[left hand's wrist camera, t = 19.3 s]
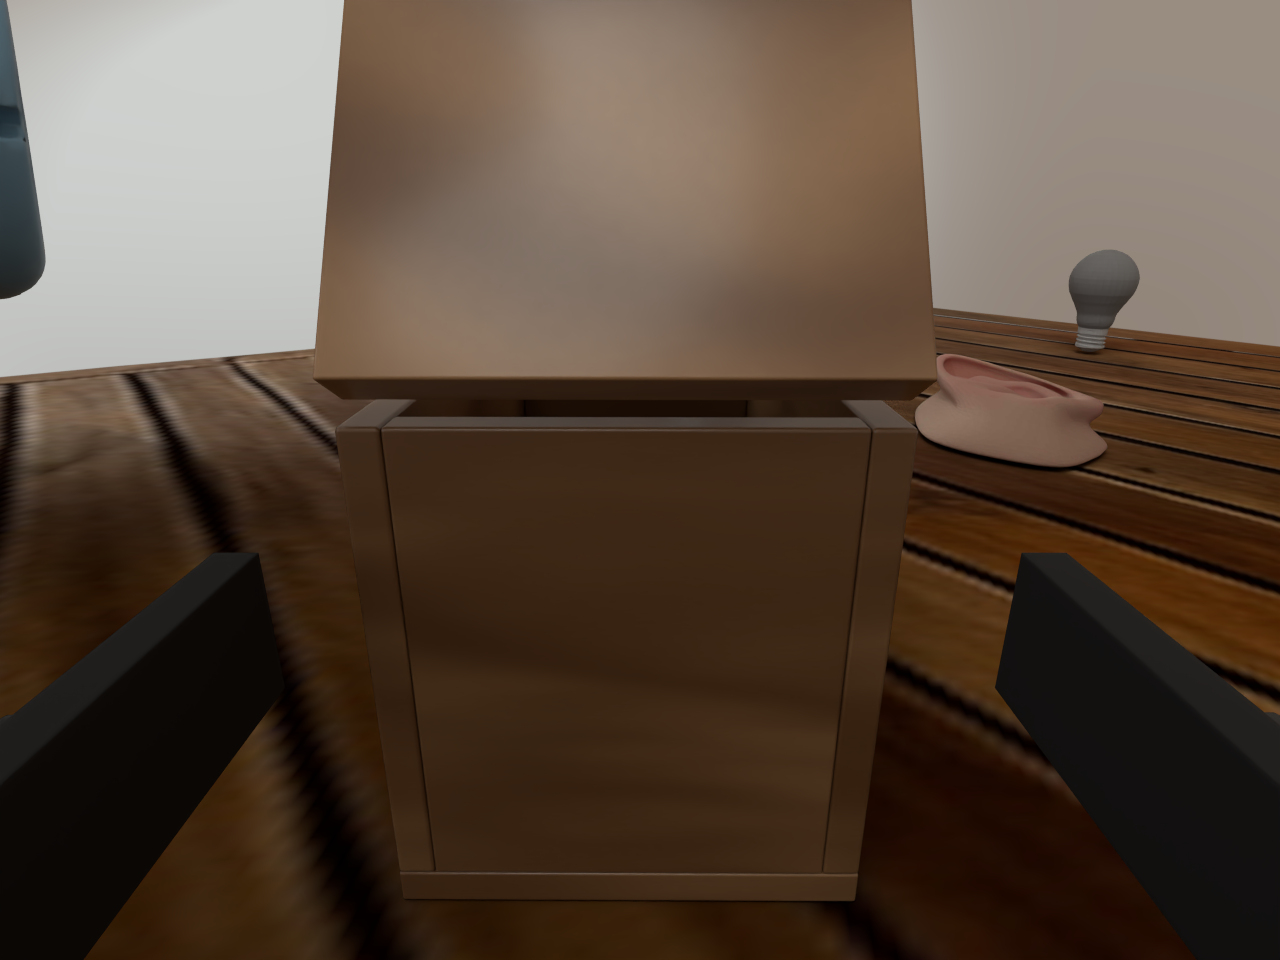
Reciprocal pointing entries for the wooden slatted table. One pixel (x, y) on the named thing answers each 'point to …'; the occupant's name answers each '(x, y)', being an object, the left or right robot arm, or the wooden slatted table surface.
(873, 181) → the lid
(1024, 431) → the anatomical model
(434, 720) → the chest
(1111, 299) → the light bulb
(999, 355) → the wooden slatted table surface
